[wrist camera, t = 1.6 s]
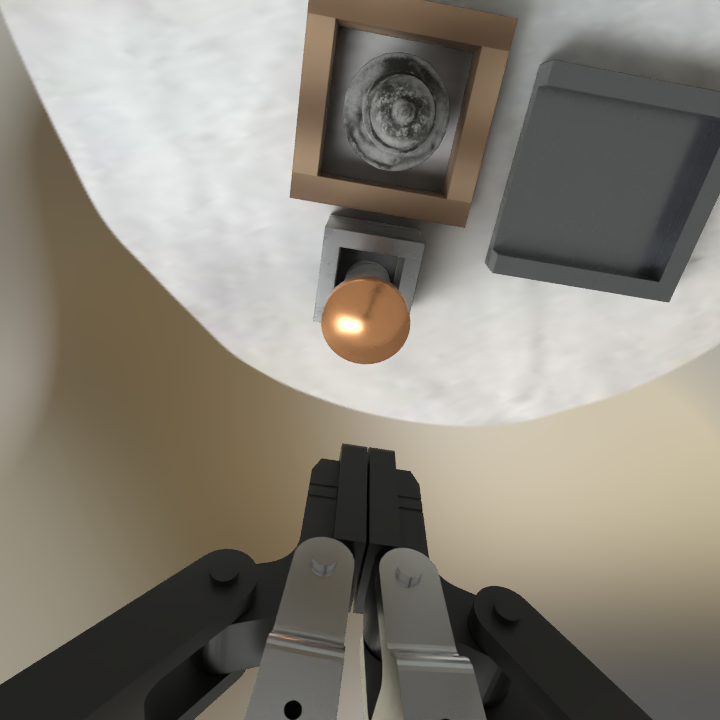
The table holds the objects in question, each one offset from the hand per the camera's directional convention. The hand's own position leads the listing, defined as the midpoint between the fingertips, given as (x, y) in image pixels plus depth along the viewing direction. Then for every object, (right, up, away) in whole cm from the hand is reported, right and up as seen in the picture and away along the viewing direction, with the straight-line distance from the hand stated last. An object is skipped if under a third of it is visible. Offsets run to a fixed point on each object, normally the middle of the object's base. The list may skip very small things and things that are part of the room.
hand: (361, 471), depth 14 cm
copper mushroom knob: (0, +8, +17) cm, 18 cm away
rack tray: (+16, +14, +18) cm, 28 cm away
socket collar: (+2, +18, +16) cm, 25 cm away
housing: (+1, +10, +20) cm, 23 cm away
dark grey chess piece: (+2, +18, +16) cm, 25 cm away
